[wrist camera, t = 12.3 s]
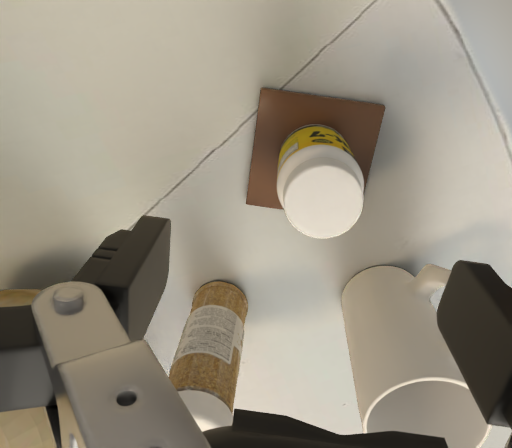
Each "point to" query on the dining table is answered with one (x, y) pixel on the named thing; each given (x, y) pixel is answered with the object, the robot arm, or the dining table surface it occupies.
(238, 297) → the sprinkles bottle
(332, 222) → the supplement bottle
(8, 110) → the dining table surface
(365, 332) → the mug
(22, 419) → the decorative ball
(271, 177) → the coaster
